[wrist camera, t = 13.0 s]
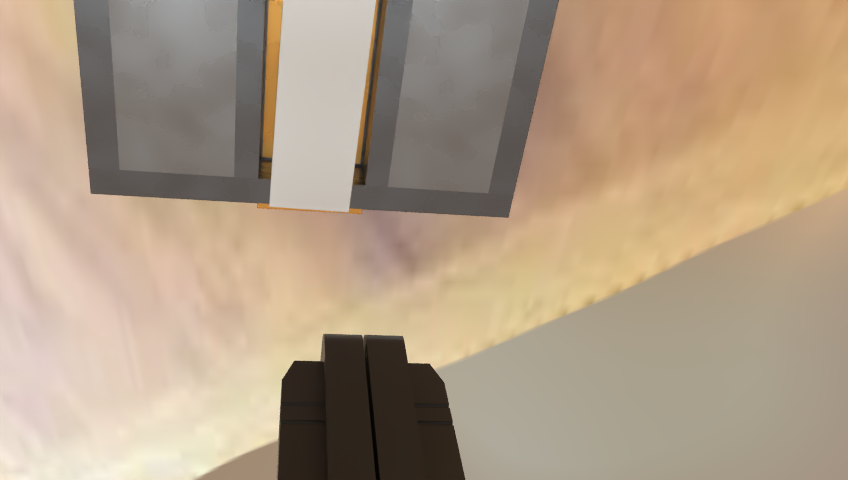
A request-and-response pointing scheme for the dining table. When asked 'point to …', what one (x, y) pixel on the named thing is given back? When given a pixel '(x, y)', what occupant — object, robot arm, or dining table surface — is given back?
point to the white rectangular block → (319, 102)
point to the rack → (257, 86)
